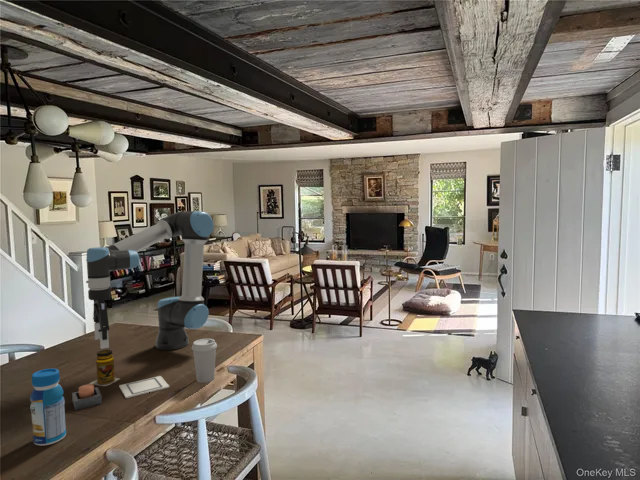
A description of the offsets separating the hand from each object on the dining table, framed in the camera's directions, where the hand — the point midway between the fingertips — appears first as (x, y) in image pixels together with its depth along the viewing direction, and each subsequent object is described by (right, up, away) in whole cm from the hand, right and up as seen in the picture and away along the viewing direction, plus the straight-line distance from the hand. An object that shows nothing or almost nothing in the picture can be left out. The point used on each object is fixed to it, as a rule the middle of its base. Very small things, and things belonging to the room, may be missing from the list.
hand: (101, 343), depth 165 cm
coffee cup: (+39, -15, +2) cm, 42 cm away
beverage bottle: (+5, -19, -39) cm, 44 cm away
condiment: (0, -15, +2) cm, 15 cm away
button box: (+3, -17, -16) cm, 23 cm away
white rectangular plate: (+18, -15, -4) cm, 24 cm away
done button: (+3, -14, -16) cm, 22 cm away
